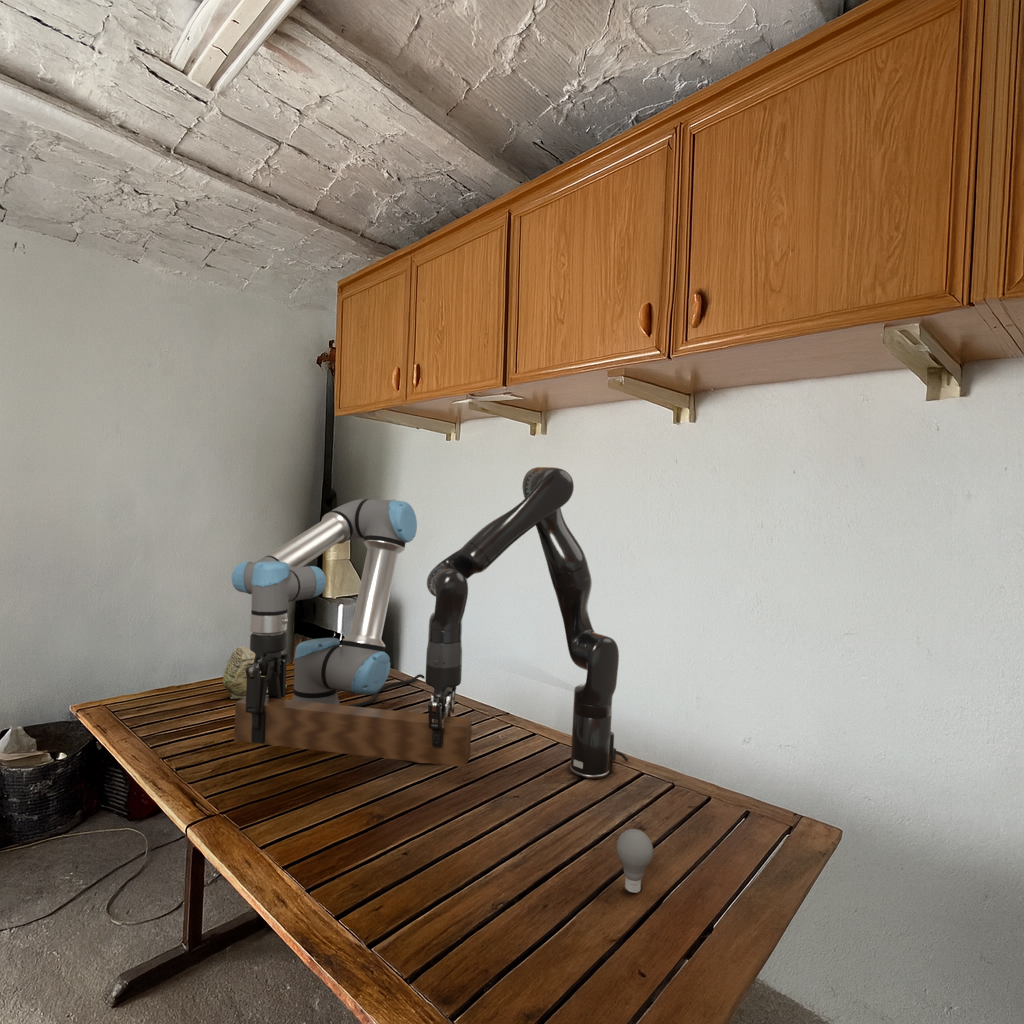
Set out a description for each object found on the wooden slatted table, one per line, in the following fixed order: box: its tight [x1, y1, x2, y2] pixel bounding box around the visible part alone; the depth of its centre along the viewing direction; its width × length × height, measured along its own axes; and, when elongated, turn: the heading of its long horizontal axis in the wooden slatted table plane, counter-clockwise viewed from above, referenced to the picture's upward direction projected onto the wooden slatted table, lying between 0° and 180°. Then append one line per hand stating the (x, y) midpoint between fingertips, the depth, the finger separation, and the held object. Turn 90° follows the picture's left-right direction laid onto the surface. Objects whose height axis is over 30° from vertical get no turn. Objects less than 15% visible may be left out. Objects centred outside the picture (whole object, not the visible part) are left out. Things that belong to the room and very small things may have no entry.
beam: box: [233, 696, 473, 768], centre depth 137 cm, size 52×5×8 cm, turn 81°
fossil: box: [222, 646, 288, 699], centre depth 198 cm, size 9×18×15 cm, turn 132°
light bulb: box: [615, 828, 654, 894], centre depth 106 cm, size 6×6×10 cm
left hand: (265, 736), depth 140 cm, fingers closed on beam, 5 cm apart
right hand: (441, 740), depth 134 cm, fingers closed on beam, 5 cm apart
